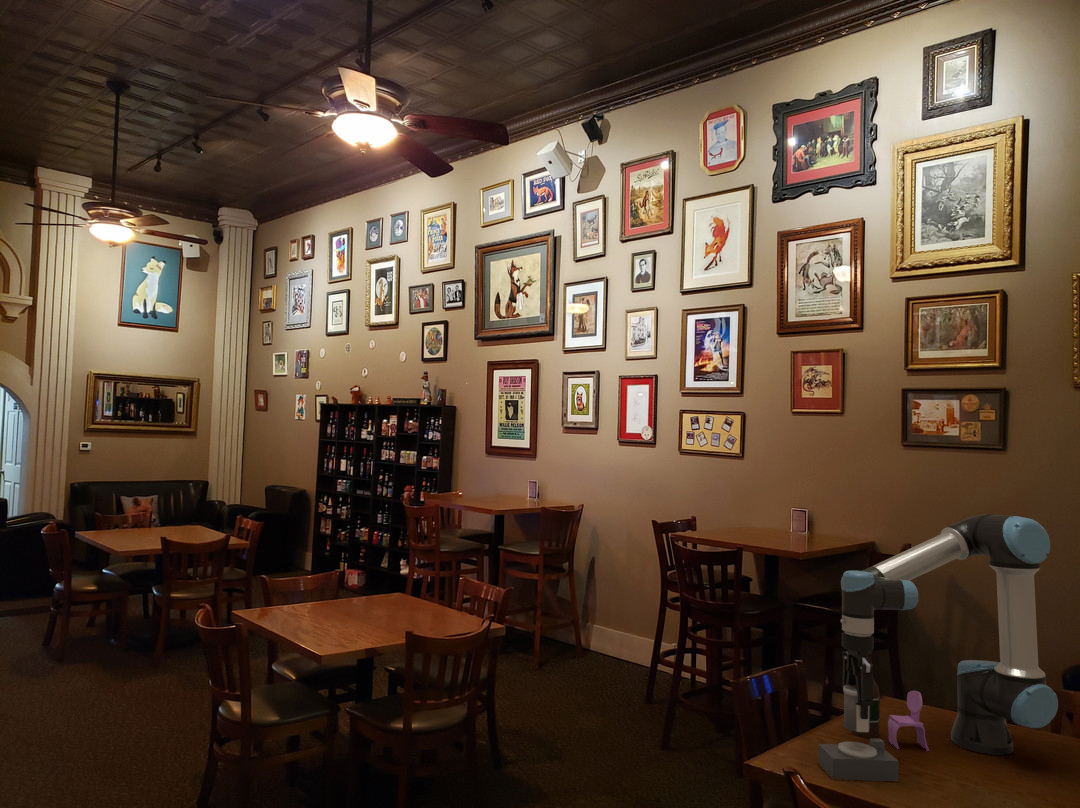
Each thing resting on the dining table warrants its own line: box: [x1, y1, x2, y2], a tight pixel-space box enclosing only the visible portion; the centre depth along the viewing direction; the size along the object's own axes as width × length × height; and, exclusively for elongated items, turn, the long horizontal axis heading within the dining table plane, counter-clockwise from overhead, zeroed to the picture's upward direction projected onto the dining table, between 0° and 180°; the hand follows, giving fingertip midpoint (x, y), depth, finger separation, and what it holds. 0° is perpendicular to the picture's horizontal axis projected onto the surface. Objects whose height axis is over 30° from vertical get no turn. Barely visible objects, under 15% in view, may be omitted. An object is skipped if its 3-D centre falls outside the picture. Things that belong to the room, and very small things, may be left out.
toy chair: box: [887, 690, 930, 752], centre depth 213 cm, size 8×9×15 cm
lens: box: [842, 684, 870, 732], centre depth 194 cm, size 6×6×10 cm
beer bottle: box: [850, 651, 881, 739], centre depth 222 cm, size 8×8×24 cm
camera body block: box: [817, 738, 900, 782], centre depth 193 cm, size 16×10×7 cm, turn 90°
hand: (857, 726), depth 193 cm, fingers closed on lens, 6 cm apart
